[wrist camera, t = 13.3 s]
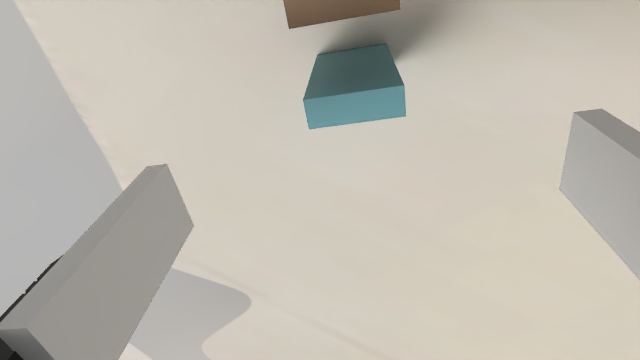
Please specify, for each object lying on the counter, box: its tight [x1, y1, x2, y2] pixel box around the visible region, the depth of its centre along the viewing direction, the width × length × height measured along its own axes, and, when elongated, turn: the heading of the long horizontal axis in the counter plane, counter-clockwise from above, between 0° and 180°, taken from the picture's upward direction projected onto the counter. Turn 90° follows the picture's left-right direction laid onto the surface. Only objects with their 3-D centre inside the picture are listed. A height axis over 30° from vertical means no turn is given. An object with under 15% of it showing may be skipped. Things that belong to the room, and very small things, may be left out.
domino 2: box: [303, 44, 406, 129], centre depth 23 cm, size 2×5×10 cm, turn 100°
